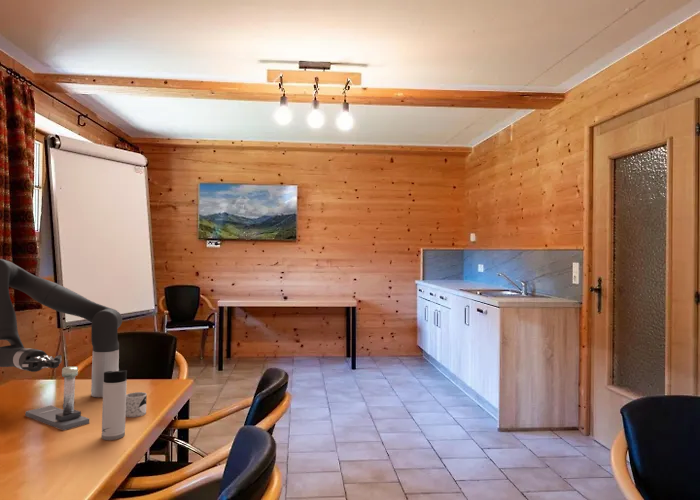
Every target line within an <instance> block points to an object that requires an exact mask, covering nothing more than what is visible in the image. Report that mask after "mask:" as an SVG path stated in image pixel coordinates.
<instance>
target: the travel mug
mask: <svg viewBox="0 0 700 500" xmlns="http://www.w3.org/2000/svg"><path fill="white" fill-rule="evenodd" d="M127 373H128V370H127V369H125V370H124V369H123V370H122V369H119V371H114V372H112V371H108V372H104V382H103V383H104V384H103V397H102V408H101V409H102V410H101V411H102V413H101V414H102V415H101V416H102V417H101V418H102V419H101V439H102V440H103V441H115V440H119V439H121V438H124V436H125V435H126V416H125V415H126V395H127V386H128V385H127V384H128V382H127V381H128V380H127V376H128V375H127Z"/></svg>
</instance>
